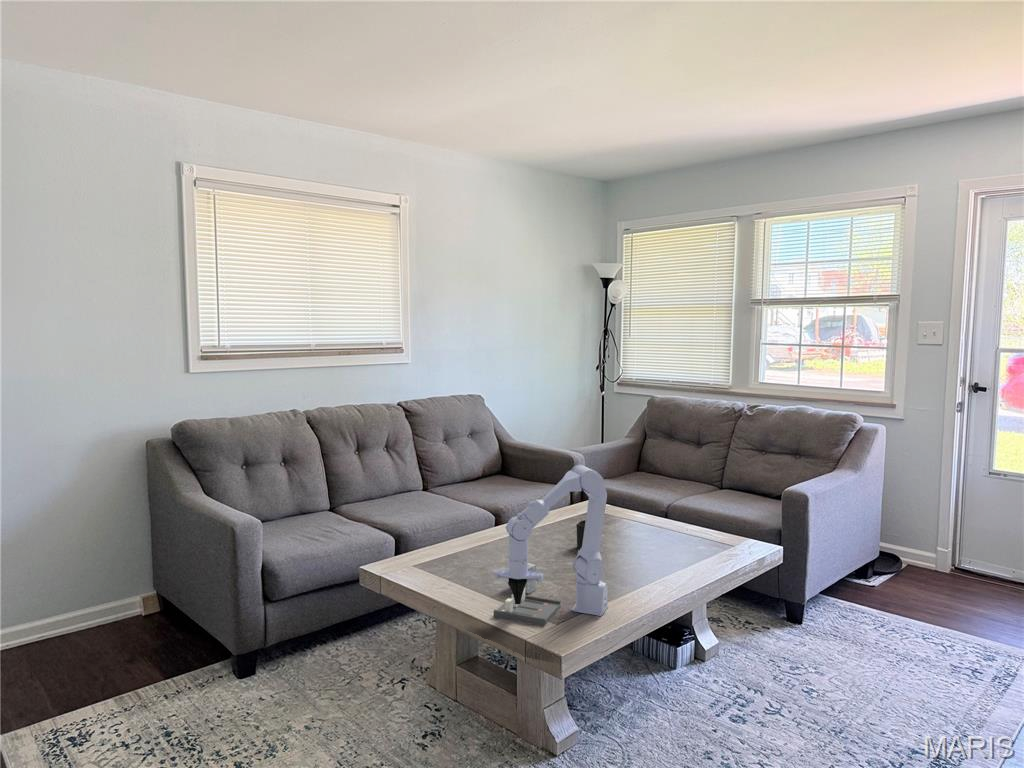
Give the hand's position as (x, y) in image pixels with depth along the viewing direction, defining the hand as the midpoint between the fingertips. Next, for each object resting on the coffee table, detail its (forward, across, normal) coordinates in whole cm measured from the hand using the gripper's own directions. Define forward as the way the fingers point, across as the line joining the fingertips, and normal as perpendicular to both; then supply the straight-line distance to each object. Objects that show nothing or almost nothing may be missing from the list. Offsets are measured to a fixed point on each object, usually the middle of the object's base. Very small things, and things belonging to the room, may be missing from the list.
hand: (518, 603), depth 205 cm
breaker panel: (+4, -2, -5) cm, 7 cm away
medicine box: (+5, +3, -22) cm, 23 cm away
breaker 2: (+3, +1, -10) cm, 11 cm away
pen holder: (+5, -14, -70) cm, 72 cm away
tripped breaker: (+3, +3, 0) cm, 4 cm away
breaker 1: (+3, +2, -5) cm, 6 cm away
